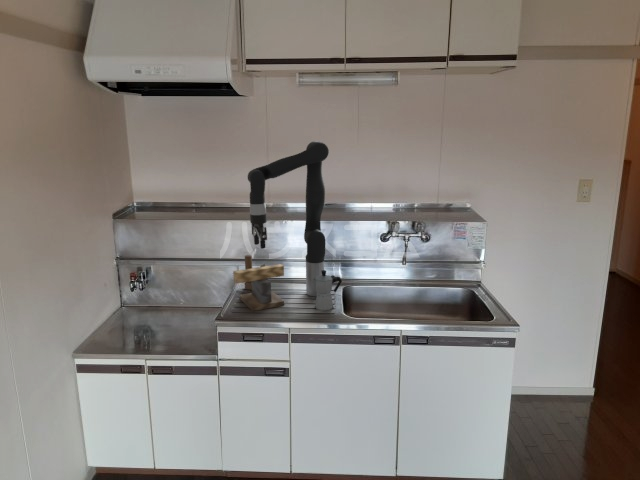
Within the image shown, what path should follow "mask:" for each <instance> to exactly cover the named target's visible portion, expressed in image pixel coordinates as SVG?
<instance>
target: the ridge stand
mask: <svg viewBox="0 0 640 480" xmlns="http://www.w3.org/2000/svg"><path fill="white" fill-rule="evenodd" d="M251 284H252V290H251V292H247V293H242V294H239V299H240V301H242V302H243V303H244V304H245V306H246V307H248V309H249V310H250V311H251V312H255V311H259V310H260V311H261V310H266V309H270V308H271V309H272V308H276V307H280V306H281V307H282V306H285V300H283V299H282V298H281V297H280V296H279V295H277V293H275V292H274V291H273V290H272V281H271V280H269V278H267V279H261V280H255V281H251Z"/></svg>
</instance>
